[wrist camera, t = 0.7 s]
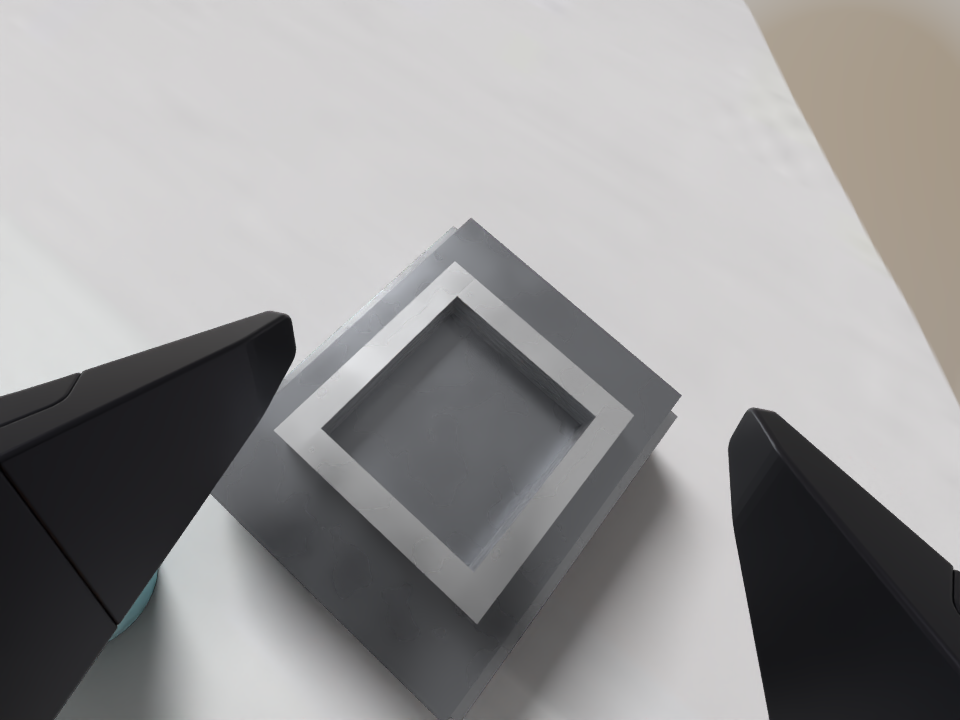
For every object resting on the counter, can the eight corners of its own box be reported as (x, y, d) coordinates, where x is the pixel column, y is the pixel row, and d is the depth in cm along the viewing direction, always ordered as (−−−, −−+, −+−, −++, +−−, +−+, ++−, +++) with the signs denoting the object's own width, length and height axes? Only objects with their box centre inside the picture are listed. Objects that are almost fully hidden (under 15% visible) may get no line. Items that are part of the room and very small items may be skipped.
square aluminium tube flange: (449, 689, 19) (470, 768, 13) (225, 470, 21) (149, 449, 14) (639, 430, 24) (720, 399, 18) (446, 264, 25) (461, 182, 19)
